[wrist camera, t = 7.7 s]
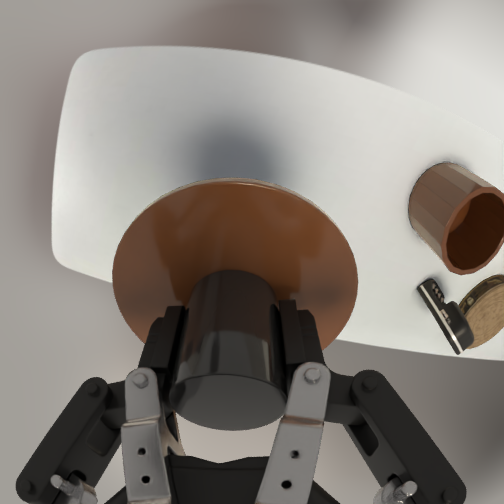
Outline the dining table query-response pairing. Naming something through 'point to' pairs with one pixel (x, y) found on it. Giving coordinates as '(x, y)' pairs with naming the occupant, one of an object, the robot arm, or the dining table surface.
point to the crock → (458, 217)
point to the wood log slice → (485, 309)
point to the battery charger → (447, 317)
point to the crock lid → (233, 290)
